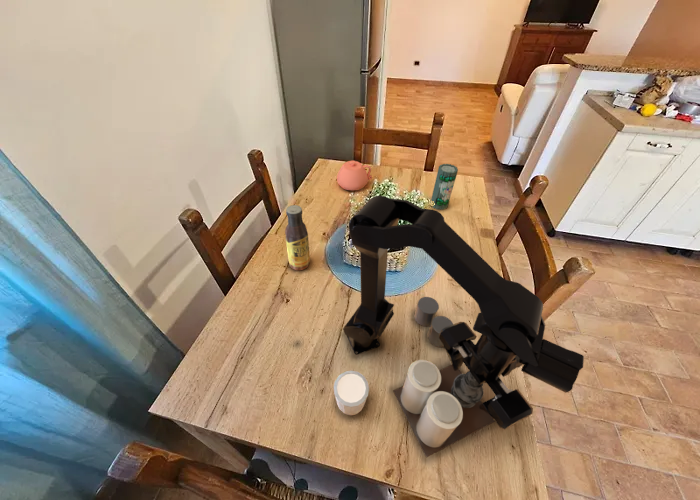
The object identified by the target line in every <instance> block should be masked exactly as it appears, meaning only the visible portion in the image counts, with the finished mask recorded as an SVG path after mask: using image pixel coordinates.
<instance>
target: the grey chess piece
mask: <svg viewBox="0 0 700 500" xmlns="http://www.w3.org/2000/svg"><path fill="white" fill-rule="evenodd" d="M484 384H485V383H482V384H480V385H479V384H478V382H477V381H476V379H475V378H474V377H473V375H472V374H471V372H470V371H469V370H468V371H467V372H466V373H462V374H460V375H458V376H457V377H456V378H455V380H454V385H453V386H452V388H451V395H453V396H454V397H455V398H456V399H457V400H458V401H459V403H460V405H461V407H464V408H471V407H473V406H474V405H475V404H476V403H477V402H479V401H480V400H481V401H482V400H483V398H484V395H485V393H484V388H483V387H484Z"/></svg>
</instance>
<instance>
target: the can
mask: <svg viewBox="0 0 700 500" xmlns="http://www.w3.org/2000/svg"><path fill="white" fill-rule="evenodd" d="M458 172H459V168H458V167H457V166H456V165H454V164H450V163H443V164H439V166H438V169H437V173H436V177H435V180H434V181H435V182H434V186H433V190H432V195H431V198H430V201H431V200H432V201H434V203H435V205H434V206H433V207H432V208H433V210H437V211H438V210H440V211H441V210H442V211H443V210H446V209H447V208H448V207H449V204H450V201H451V196H452V193H453V190H454V185H455V182H456V180H457V179H456V178H457V176H458Z"/></svg>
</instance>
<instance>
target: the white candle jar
mask: <svg viewBox="0 0 700 500" xmlns="http://www.w3.org/2000/svg"><path fill="white" fill-rule="evenodd" d="M369 392H370V385H369V382H368V380H367V378H366V376H365V375H363V374H362V373H361V372H359V371H357V370H346V371H344V372H342V373H340V374H339V375H338V376H337V377H336V379H335V380H334V384H333V393H334V397H335V400H336V401H335V402H336V404H337V406H338V409H339V410H340V411H341V412H342V413H343V414H344V415H348V416H354V415H357V414H359V413H360V412H361V411H362V410H363V408H364V407H365V404H366V401H367V399H368V397H369Z"/></svg>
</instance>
